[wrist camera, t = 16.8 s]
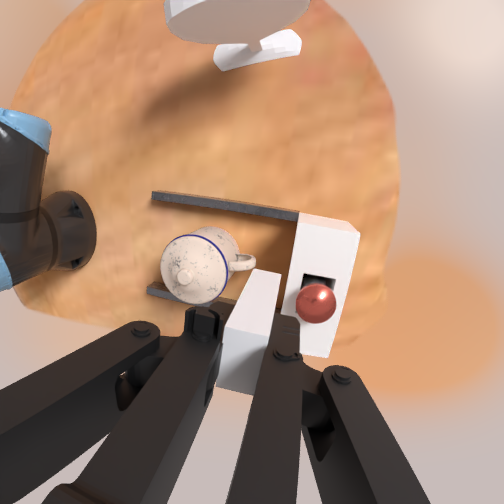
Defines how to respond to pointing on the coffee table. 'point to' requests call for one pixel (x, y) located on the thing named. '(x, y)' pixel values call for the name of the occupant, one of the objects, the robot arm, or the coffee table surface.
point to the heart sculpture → (238, 28)
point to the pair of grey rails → (218, 203)
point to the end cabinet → (320, 274)
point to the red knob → (315, 300)
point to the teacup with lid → (202, 264)
